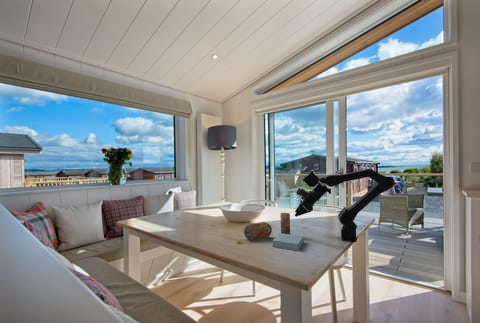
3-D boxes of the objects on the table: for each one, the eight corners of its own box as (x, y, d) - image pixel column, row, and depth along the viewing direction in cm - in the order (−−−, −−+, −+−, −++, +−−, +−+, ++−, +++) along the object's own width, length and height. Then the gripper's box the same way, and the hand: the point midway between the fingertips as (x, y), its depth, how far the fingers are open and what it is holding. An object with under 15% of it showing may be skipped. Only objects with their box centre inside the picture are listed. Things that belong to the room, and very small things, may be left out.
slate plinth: (303, 242, 115) (303, 236, 115) (297, 250, 104) (297, 243, 104) (280, 238, 121) (280, 233, 121) (272, 246, 110) (272, 240, 110)
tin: (245, 241, 119) (244, 224, 119) (243, 239, 122) (242, 223, 122) (272, 238, 123) (271, 222, 123) (269, 236, 126) (269, 220, 126)
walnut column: (291, 235, 127) (290, 213, 127) (288, 237, 122) (288, 215, 122) (282, 233, 129) (282, 212, 129) (279, 236, 124) (279, 214, 124)
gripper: (304, 181, 132) (285, 200, 135) (305, 184, 114) (283, 206, 117) (319, 195, 130) (299, 214, 133) (322, 201, 112) (299, 222, 115)
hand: (295, 214), depth 124 cm, fingers open, 9 cm apart
